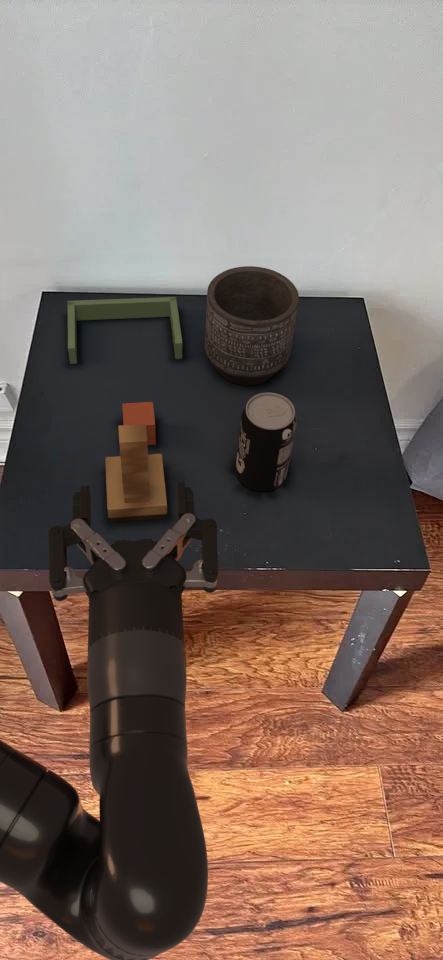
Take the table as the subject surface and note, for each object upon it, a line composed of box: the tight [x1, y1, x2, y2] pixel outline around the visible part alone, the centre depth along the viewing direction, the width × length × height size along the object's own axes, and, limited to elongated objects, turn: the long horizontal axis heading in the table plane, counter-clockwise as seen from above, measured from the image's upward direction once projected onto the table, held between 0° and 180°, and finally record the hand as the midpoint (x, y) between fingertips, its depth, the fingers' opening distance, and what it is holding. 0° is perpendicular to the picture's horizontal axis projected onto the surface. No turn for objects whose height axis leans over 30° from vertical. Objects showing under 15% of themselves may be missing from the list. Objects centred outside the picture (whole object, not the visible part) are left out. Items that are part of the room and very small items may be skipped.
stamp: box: [104, 424, 168, 523], centre depth 87 cm, size 7×8×14 cm
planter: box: [204, 265, 300, 386], centre depth 103 cm, size 12×12×13 cm
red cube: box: [121, 401, 157, 446], centre depth 97 cm, size 4×4×4 cm
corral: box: [67, 296, 183, 365], centre depth 109 cm, size 16×10×3 cm, turn 97°
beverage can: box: [235, 392, 298, 492], centre depth 91 cm, size 7×7×12 cm
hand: (133, 488), depth 68 cm, fingers open, 8 cm apart
